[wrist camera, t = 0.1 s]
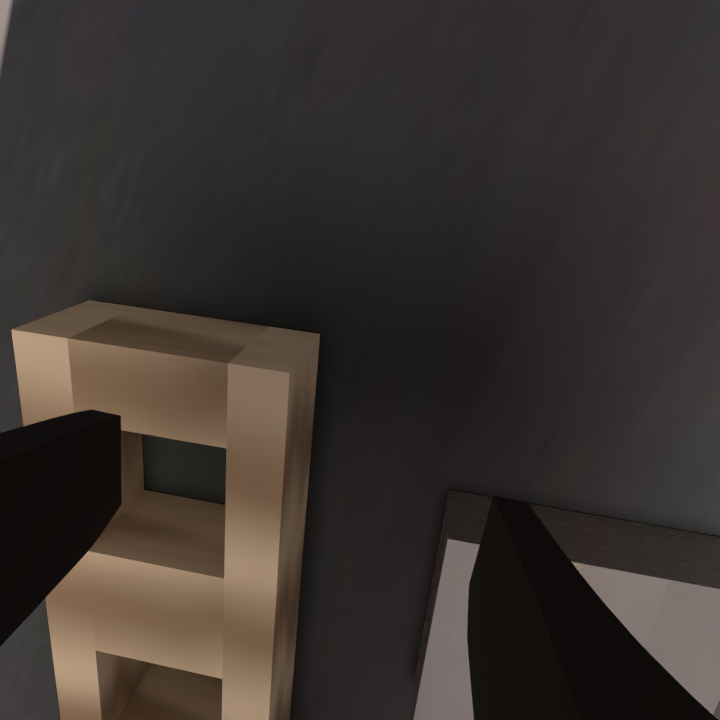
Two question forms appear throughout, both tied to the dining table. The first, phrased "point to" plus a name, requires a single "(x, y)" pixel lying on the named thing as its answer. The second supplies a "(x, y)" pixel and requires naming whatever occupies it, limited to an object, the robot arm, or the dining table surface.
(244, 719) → the rack
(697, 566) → the socket block
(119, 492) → the robot arm
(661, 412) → the dining table surface
